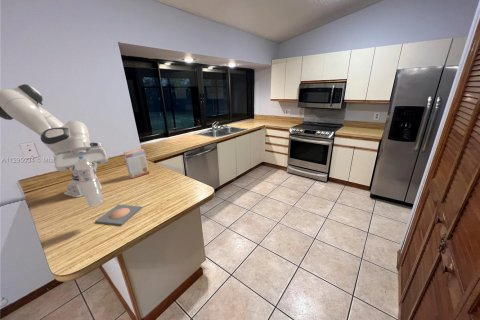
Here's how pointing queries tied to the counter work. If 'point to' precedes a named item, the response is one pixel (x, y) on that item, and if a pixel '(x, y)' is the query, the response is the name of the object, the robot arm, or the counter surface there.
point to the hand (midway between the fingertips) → (85, 173)
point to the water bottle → (88, 182)
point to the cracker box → (136, 163)
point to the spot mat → (119, 214)
